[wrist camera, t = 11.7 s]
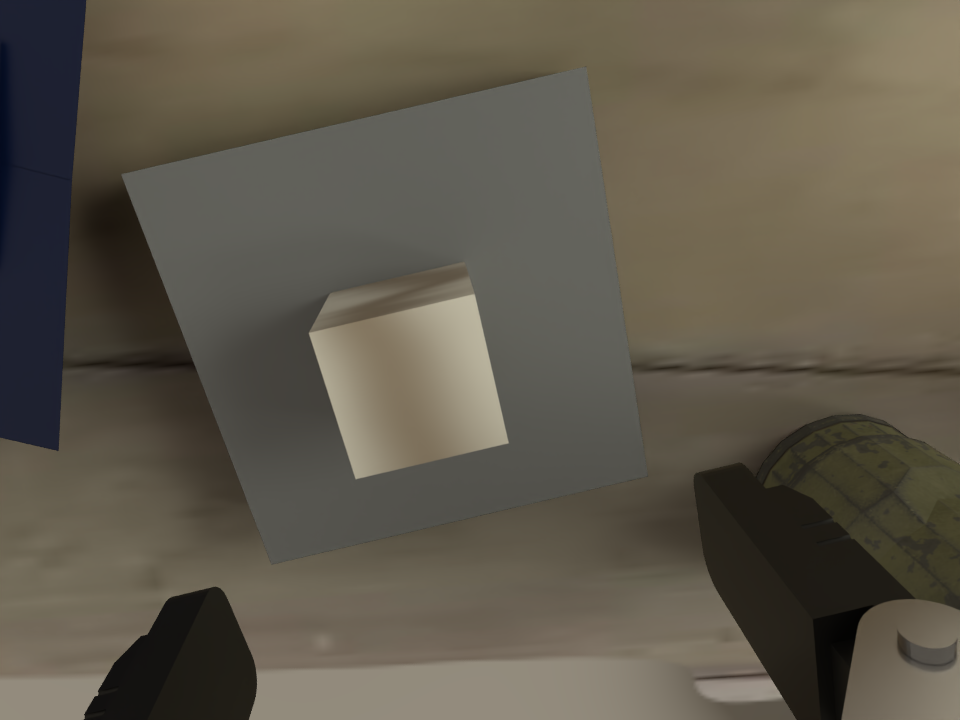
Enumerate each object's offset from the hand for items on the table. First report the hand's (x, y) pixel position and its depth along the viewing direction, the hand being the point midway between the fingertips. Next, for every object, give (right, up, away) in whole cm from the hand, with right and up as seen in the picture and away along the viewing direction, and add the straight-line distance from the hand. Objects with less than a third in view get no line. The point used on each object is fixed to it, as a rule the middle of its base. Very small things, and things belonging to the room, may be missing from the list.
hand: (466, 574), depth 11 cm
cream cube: (-2, +4, +14) cm, 15 cm away
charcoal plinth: (-3, +6, +18) cm, 19 cm away
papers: (-28, +14, +13) cm, 34 cm away
